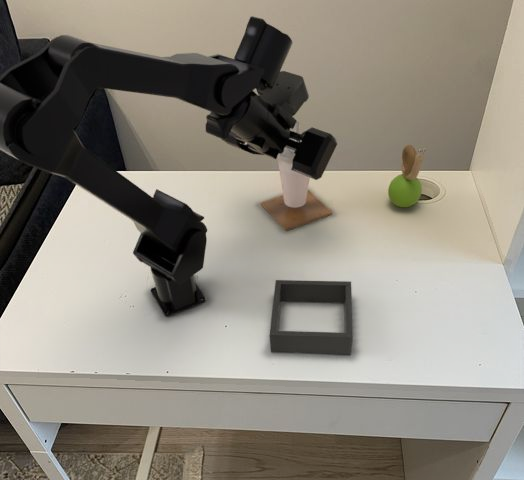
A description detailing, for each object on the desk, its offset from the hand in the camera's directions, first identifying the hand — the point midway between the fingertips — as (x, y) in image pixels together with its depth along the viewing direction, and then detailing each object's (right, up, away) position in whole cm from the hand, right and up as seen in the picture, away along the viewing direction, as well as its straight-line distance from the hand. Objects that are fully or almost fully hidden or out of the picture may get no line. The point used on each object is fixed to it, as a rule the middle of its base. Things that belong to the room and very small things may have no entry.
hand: (300, 159), depth 88 cm
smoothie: (-1, -6, +5) cm, 7 cm away
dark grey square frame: (+1, -27, -12) cm, 30 cm away
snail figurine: (+18, -6, +5) cm, 20 cm away
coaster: (0, -6, +6) cm, 9 cm away
